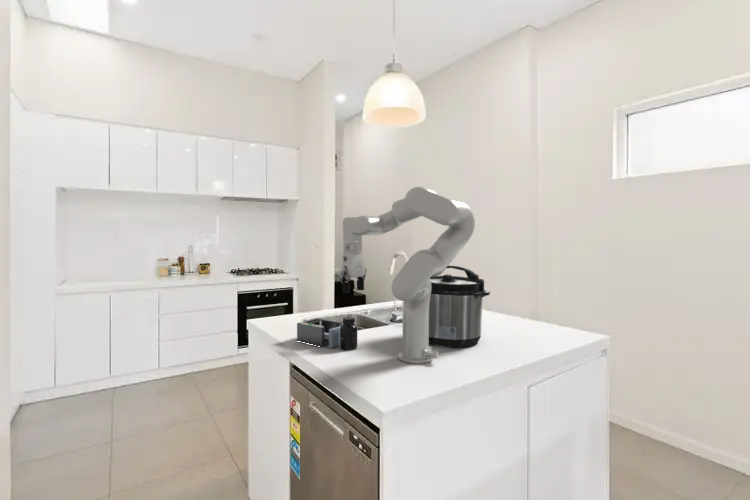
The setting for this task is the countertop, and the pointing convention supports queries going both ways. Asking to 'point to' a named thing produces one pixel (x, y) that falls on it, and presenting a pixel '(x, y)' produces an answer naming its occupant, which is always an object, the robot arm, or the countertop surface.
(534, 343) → the countertop surface
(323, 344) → the box
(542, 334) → the countertop surface
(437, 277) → the pressure cooker
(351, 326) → the supplement bottle
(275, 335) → the countertop surface
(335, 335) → the gauge plunger
